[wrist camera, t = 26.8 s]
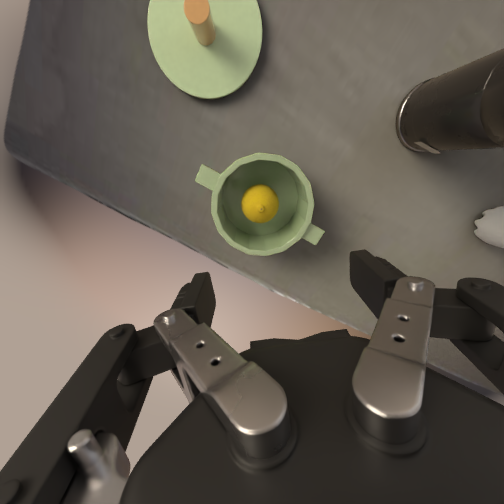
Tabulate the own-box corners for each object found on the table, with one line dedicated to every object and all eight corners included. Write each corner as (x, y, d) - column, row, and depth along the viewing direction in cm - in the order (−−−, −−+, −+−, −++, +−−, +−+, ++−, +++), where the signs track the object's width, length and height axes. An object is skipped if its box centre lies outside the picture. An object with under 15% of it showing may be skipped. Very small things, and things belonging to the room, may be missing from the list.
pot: (226, 127, 36) (220, 119, 29) (331, 189, 40) (350, 196, 32) (190, 208, 41) (176, 219, 33) (288, 257, 44) (296, 278, 36)
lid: (176, -69, 29) (155, -131, 23) (282, 8, 31) (290, -29, 25) (135, 63, 33) (109, 41, 27) (231, 120, 36) (227, 112, 30)
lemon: (259, 222, 41) (261, 237, 34) (234, 199, 40) (231, 209, 32) (283, 199, 40) (290, 208, 32) (258, 174, 38) (261, 178, 31)
